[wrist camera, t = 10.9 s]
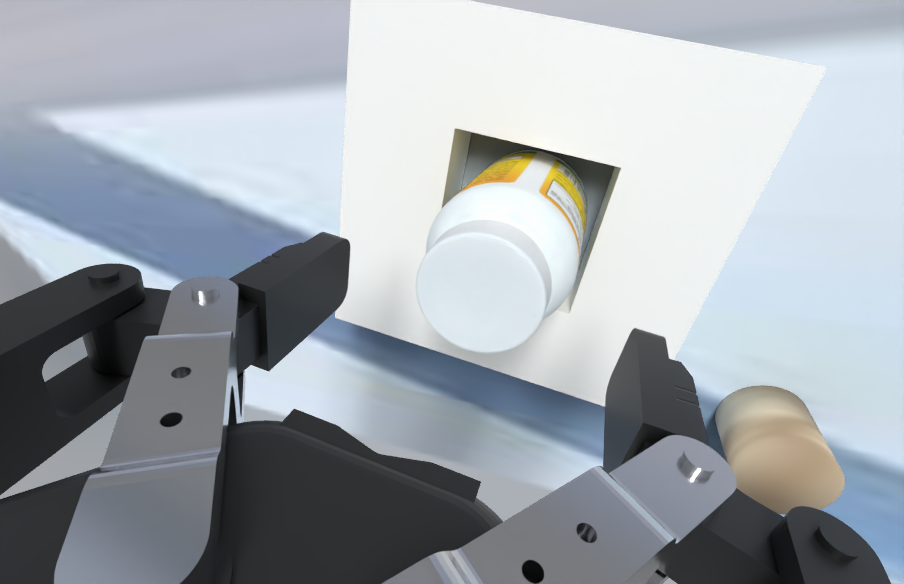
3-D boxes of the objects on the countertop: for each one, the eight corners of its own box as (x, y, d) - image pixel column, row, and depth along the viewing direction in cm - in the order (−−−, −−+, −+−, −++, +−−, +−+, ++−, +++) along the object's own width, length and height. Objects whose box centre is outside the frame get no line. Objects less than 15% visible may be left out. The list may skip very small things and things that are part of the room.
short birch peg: (827, 402, 22) (867, 467, 18) (780, 458, 24) (809, 526, 20) (738, 374, 22) (761, 432, 19) (701, 431, 24) (715, 492, 21)
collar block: (793, 65, 16) (827, 67, 14) (639, 380, 24) (642, 419, 21) (385, -11, 19) (351, -22, 17) (361, 292, 27) (335, 317, 24)
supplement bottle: (608, 172, 20) (608, 254, 12) (559, 275, 23) (532, 399, 15) (493, 130, 21) (417, 180, 12) (459, 235, 23) (379, 332, 15)
